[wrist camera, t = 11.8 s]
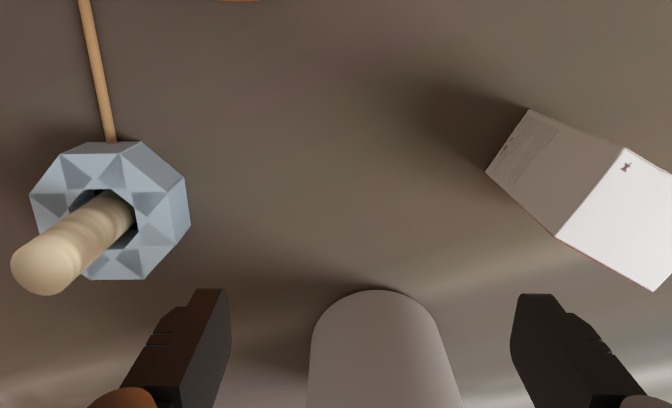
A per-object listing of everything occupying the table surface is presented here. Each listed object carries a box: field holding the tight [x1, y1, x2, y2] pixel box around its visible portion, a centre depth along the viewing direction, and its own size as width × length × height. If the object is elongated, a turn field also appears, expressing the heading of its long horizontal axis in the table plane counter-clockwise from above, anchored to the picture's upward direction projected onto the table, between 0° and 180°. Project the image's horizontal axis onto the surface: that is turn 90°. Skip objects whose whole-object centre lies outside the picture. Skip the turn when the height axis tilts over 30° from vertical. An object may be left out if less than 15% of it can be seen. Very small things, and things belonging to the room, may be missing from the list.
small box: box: [485, 109, 672, 292], centre depth 32 cm, size 8×6×13 cm
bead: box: [29, 141, 191, 280], centre depth 37 cm, size 11×11×4 cm
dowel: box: [10, 189, 137, 296], centre depth 34 cm, size 4×4×12 cm
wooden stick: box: [78, 0, 117, 144], centre depth 34 cm, size 17×1×1 cm, turn 1°
